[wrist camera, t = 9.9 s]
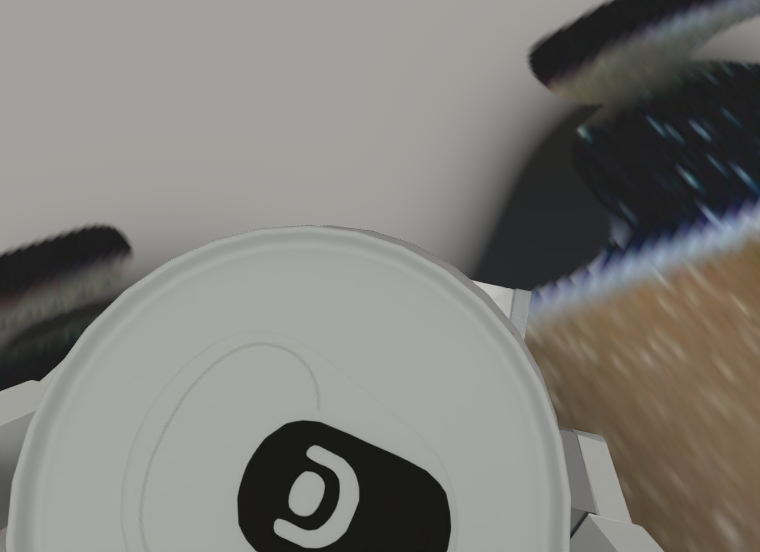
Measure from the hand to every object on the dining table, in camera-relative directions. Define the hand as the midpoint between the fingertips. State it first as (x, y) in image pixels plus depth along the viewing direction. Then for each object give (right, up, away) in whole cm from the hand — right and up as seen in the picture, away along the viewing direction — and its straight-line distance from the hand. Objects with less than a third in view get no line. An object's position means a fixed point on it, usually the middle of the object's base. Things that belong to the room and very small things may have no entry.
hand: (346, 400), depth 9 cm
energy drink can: (0, -3, +10) cm, 10 cm away
